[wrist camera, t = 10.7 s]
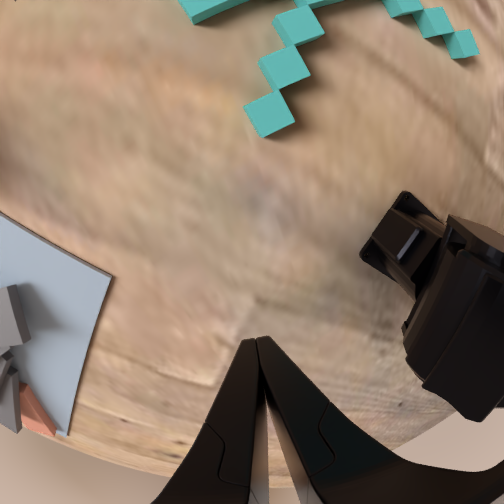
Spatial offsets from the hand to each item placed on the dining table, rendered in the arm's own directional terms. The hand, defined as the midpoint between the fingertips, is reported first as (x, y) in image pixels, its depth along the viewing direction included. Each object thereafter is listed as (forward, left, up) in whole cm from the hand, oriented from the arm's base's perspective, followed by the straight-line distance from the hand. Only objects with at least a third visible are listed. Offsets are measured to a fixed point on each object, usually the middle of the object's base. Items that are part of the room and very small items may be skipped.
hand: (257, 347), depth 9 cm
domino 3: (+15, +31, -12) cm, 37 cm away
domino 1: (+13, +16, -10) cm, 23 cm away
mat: (+14, +25, -13) cm, 31 cm away
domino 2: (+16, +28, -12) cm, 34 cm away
